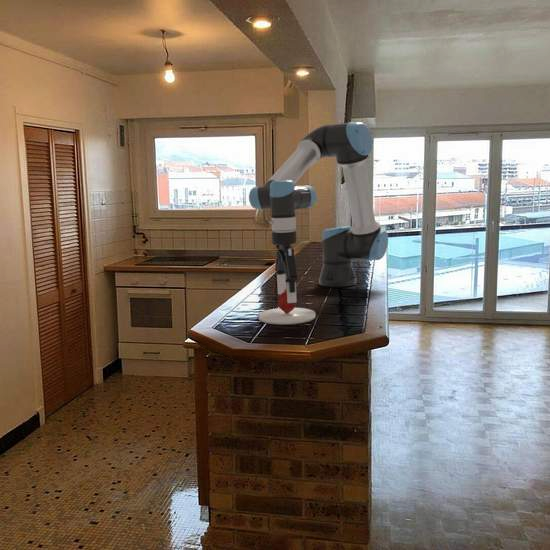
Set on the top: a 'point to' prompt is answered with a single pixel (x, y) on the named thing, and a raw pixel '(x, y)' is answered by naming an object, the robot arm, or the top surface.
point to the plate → (287, 316)
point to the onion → (285, 303)
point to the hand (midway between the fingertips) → (286, 298)
